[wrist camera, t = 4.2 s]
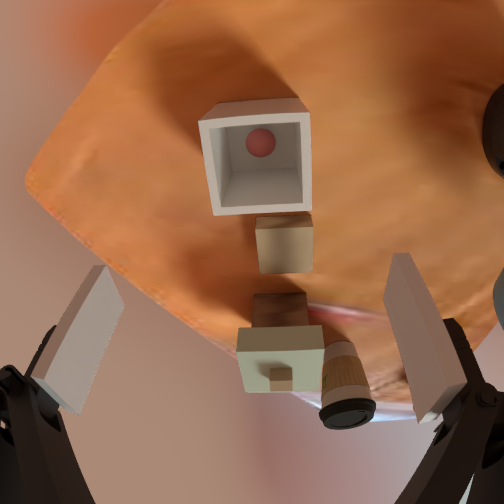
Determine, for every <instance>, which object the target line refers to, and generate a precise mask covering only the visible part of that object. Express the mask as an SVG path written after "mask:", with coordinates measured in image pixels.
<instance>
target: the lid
mask: <svg viewBox="0 0 504 504" xmlns="http://www.w3.org/2000/svg"><path fill="white" fill-rule="evenodd" d="M324 350H325V348H324V339H323V331H322V325H312V326H290V327H257V328H239V330H238V339H237V348H236V354H237V358H238V362H239V367H240V371H241V375H242V379H243V384H244V388H245V392H246V393H248V392H249V393H268V392H269V393H270V392H302V391H318V389H319V383H320V377H321V371H322V364H323V357H324Z"/></svg>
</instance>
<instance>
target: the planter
mask: <svg viewBox="0 0 504 504" xmlns="http://www.w3.org/2000/svg"><path fill="white" fill-rule="evenodd" d="M198 124H199V131H200V137H201V144H202V150H203V156H204V162H205V168H206V174H207V180H208V186H209V192H210V198H211V204H212V209H213V215H214V216H218V215H234V214H252V213H271V212H292V211H312V172H311V132H310V112H309V111H308V109H307V108H306V106H305V105H304V104H303V102H302V101H301V100H300V98H299V97H298V98H274V99H258V100H246V101H235V102H226V103H217V104H216V105H215V106H214V107H213V108H212V109H211V110H209V111H208V112H207V113H206V114H205V115H204V116H203V117H202V118H201V119H200V120H198ZM258 128H264V129H267V130H269V131H270V132H271V133H272V134H273V135H274V137H275V140H276V146H275V149H274V151H273V152H272V153H271V154H270V155H268V156H266V157H256V156H254V155H252V154H251V153H250V152H249V151H248V150H247V147H246V138H247V136H248V134H249V133H250V132H251V131H253V130H255V129H258Z"/></svg>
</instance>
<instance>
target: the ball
mask: <svg viewBox="0 0 504 504" xmlns="http://www.w3.org/2000/svg"><path fill="white" fill-rule="evenodd" d="M275 146H276V140H275V137H274V135H273V134H272V133H271V132H270V131H269V130H267V129H264V128H258V129H255V130H253V131H251V132H250V133H249V134H248V136H247V138H246V147H247V150H248V151H249V152H250V153H251V154H252V155H254V156H256V157H266V156H268V155H270V154H271V153H272V152H273V151H274V149H275Z"/></svg>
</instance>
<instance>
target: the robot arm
mask: <svg viewBox="0 0 504 504" xmlns="http://www.w3.org/2000/svg"><path fill="white" fill-rule="evenodd" d="M483 145H484V150H485V154H486V157H487V159H488V161H489V163H490V165H491V167H492V168H493V169H494V171H495V172H496V173H497V174H499V175H500V176H501V177H503V178H504V85H502V86H501V87H499V88H498V89H497V90H496V92H495V93H494V94H493V96H492V97H491V99H490V101H489V103H488V105H487V108H486V111H485V115H484V121H483ZM493 300H494V308H495V312H496V315H497V317H498V320H499V322H500V324H501V326H502V328H503V330H504V268H503V270H502V271H501V273H500V275H499V277H498V278H497V280H496V282H495V284H494V288H493ZM383 301H384V304H385V307H386V310H387V313H388V316H389V319H390V322H391V326H392V329H393V332H394V335H395V338H396V342H397V345H398V348H399V352H400V355H401V358H402V362H403V365H404V369H405V373H406V376H407V380H408V384H409V388H410V392H411V396H412V400H413V404H414V408H415V413H416V417H417V422H418V424H419V423H423V422H427V421H432V420H435V419H437V417H438V416H439V415H440V414H441V413H442V415H443V419H444V420H443V421H442V422H441V424H440V425H439V426H438V427H437V428H436V429H435V430H434V432H437V433H436V435H435V437H434V439H433V441H432V443H431V445H430V447H429V449H428V450H427V453H426V454H425V456H424V458H423V459H422V461H421V463H420V465H419V466H418V468H417V470H416V472H415V473H414V474H413V476H412V478H411V480H410V481H409V482H408V484H407V486H406V487H405V489H404V490H403V492H402V493H401V495H400V496H399V498H398V499H397V500H396V502H395V504H459V502H460V500H461V498H462V496H463V495H464V493H465V490H466V489H467V486H468V484H469V482H470V480H471V478H472V476H473V474H474V476H473V481H472V485H471V488H470V492H469V495H468V499H467V502H466V504H504V392H499V391H497V390H496V389H495V387H494V386H493V385H491V384H489V383H486V382H485V380H484V378H483V376H482V373H481V371H480V368H479V366H478V364H477V361H476V359H475V356H474V354H473V351H472V349H471V348H470V344H469V342H468V340H466V336H465V333H464V331H463V329H462V327H461V326H460V325H459V324H458V323H457V322H456V321H455V320H454V319H453V318H448V319H442V318H441V316H440V313H439V311H438V309H437V307H436V305H435V303H434V301H433V298H432V296H431V294H430V292H429V290H428V288H427V286H426V284H425V282H424V280H423V278H422V276H421V275H420V273H419V271H418V269H417V267H416V265H415V263H414V261H413V259H412V258H411V256H410V254H409V253H393V257H392V262H391V267H390V271H389V276H388V280H387V284H386V288H385V293H384V297H383ZM124 307H125V305H124V303H123V301H122V299H121V297H120V295H119V293H118V291H117V288H116V286H115V284H114V282H113V279H112V277H111V275H110V273H109V270H108V268H107V266H106V265H94V266H93V268H92V269H91V271H90V272H89V274H88V275H87V277H86V278H85V280H84V282H83V283H82V285H81V286H80V288H79V290H78V291H77V293H76V294H75V296H74V297H73V299H72V301H71V302H70V304H69V306H68V307H67V309H66V311H65V313H64V314H63V316H62V318H61V319H60V321H59V323H58V325H54V326H53V327H52V328H51V329H50V330H49V331H48V332H47V333H46V335H45V337H44V339H43V341H42V344H40V346H39V348H38V351H37V352H36V354H35V355H34V357H33V359H32V361H31V363H30V365H29V367H28V369H27V371H26V373H25V375H24V376H23V375H22V374H21V373H20V372H19V371H18V370H17V369H16V368H15V367H14V366H13V365H6V366H4V367H3V368H1V369H0V425H1V421H2V422H4V423H5V429H4V428H2V427H1V426H0V504H95V502H94V500H93V497H92V495H91V493H90V491H89V489H88V487H87V484H86V482H85V480H84V477H83V475H82V473H81V470H80V468H79V465H78V463H77V460H76V457H75V455H74V452H73V449H72V446H71V444H70V441H69V438H68V435H67V432H66V429H65V426H64V423H63V420H62V416H61V414H60V412H59V411H58V408H59V405H60V406H61V407H62V408H63V409H64V410H66V411H67V412H70V413H73V414H77V415H80V414H81V411H82V408H83V406H84V403H85V400H86V398H87V395H88V392H89V390H90V387H91V384H92V382H93V379H94V377H95V374H96V372H97V369H98V367H99V364H100V362H101V359H102V357H103V355H104V352H105V350H106V347H107V345H108V343H109V341H110V338H111V336H112V333H113V331H114V329H115V327H116V324H117V322H118V320H119V318H120V316H121V313H122V311H123V309H124Z"/></svg>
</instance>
